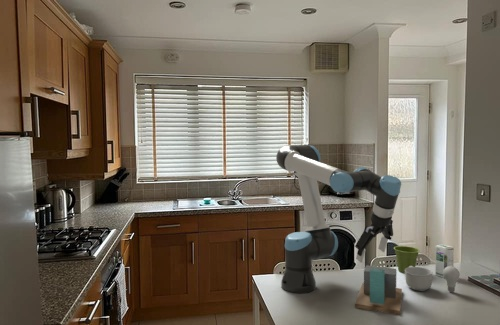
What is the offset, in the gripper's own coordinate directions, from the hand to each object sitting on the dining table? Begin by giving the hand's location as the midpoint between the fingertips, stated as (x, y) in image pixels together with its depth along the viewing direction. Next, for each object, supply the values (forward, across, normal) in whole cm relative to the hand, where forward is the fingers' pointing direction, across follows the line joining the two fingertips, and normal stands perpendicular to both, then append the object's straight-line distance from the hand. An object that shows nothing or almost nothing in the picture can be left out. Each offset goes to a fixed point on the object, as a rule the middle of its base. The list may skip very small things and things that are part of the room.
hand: (370, 255), depth 149 cm
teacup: (+16, +20, -13) cm, 29 cm away
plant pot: (+25, +34, 0) cm, 42 cm away
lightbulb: (+13, +27, -24) cm, 38 cm away
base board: (+12, -4, -12) cm, 17 cm away
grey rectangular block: (+12, -1, -10) cm, 15 cm away
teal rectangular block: (+8, -7, -13) cm, 17 cm away
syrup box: (+21, +43, -13) cm, 50 cm away
